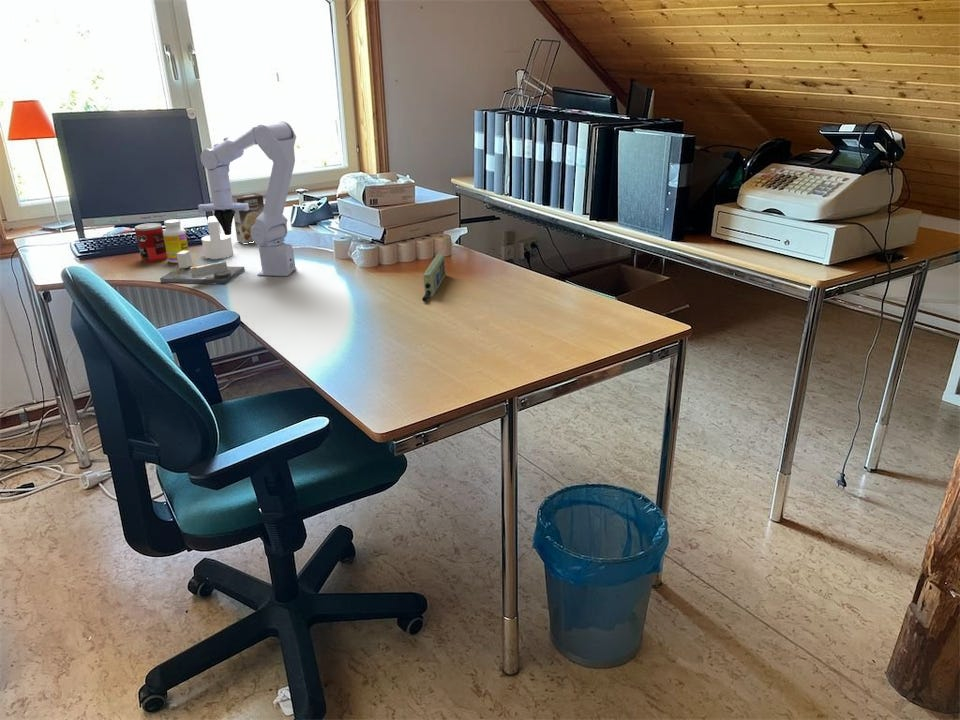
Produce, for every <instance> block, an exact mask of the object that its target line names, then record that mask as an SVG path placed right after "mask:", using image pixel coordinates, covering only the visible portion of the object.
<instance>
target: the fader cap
mask: <svg viewBox="0 0 960 720" xmlns="http://www.w3.org/2000/svg"><path fill="white" fill-rule="evenodd" d="M177 259H178V263H177V264H178V268H188V267H189V266H194V265H193V260H192V254H191V250H189V251H181V252H179V253H177Z"/></svg>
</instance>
